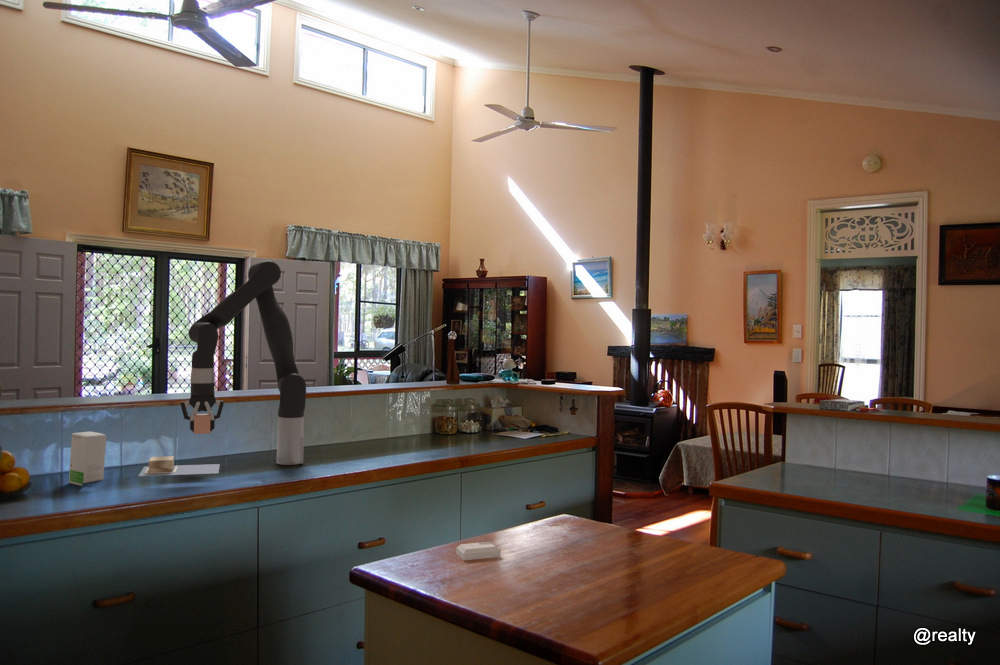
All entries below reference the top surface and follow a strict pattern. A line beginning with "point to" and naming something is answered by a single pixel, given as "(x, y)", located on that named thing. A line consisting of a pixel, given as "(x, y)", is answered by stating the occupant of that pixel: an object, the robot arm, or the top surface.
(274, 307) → the robot arm
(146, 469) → the board
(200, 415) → the terracotta block
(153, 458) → the beech base block
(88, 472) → the skincare box
